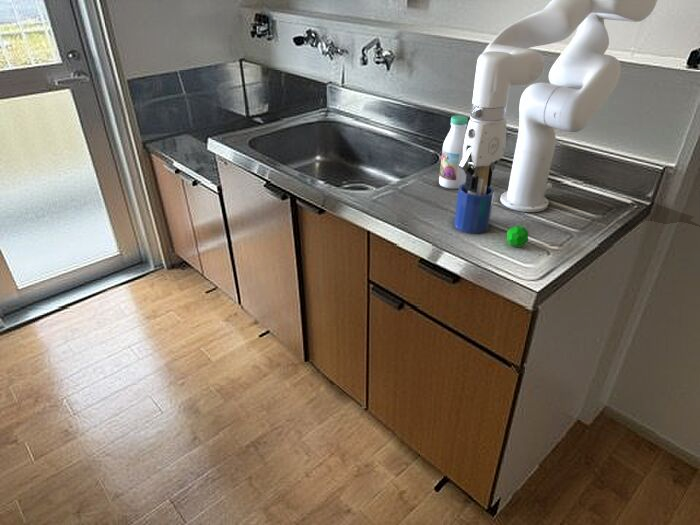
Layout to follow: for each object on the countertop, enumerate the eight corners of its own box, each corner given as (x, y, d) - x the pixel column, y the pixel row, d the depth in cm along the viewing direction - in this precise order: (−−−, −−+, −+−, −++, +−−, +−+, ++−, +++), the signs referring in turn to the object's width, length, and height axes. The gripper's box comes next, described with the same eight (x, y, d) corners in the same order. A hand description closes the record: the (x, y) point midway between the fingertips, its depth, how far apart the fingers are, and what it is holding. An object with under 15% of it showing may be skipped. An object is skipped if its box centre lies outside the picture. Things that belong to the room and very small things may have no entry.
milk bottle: (456, 177, 151) (464, 112, 141) (469, 187, 145) (479, 119, 135) (434, 181, 149) (440, 114, 138) (447, 191, 143) (454, 122, 132)
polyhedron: (522, 240, 118) (526, 222, 116) (529, 250, 114) (533, 232, 112) (502, 240, 118) (505, 222, 116) (508, 250, 114) (511, 232, 112)
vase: (469, 215, 130) (474, 179, 124) (494, 227, 124) (501, 190, 119) (447, 224, 125) (451, 187, 120) (472, 237, 120) (478, 199, 114)
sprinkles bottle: (488, 208, 122) (496, 156, 114) (474, 212, 120) (482, 160, 112) (474, 201, 125) (481, 150, 118) (461, 206, 123) (467, 154, 116)
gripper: (476, 123, 103) (466, 202, 113) (525, 109, 111) (511, 184, 121) (449, 115, 108) (441, 192, 118) (498, 102, 116) (487, 174, 126)
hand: (477, 187), depth 119 cm, fingers closed on sprinkles bottle, 4 cm apart
